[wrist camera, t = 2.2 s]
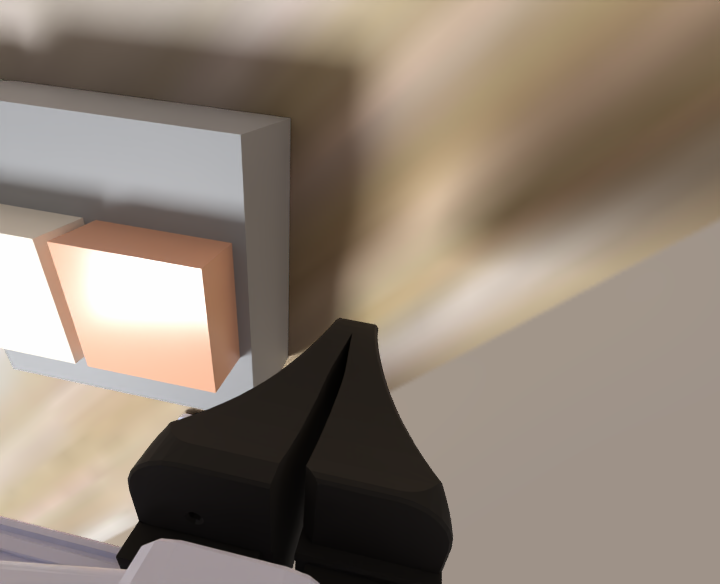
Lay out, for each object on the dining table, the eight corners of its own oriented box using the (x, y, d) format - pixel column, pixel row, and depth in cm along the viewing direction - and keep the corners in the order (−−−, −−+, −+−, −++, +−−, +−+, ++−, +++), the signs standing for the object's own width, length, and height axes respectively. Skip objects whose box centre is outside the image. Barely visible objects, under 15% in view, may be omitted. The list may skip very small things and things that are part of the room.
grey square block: (288, 357, 21) (254, 420, 17) (86, 317, 22) (13, 368, 19) (290, 118, 15) (240, 134, 11) (13, 80, 16) (-117, 84, 13)
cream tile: (113, 332, 16) (75, 363, 15) (6, 311, 17) (-44, 338, 15) (82, 217, 14) (32, 239, 12) (-44, 196, 14) (-109, 213, 13)
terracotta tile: (239, 357, 16) (215, 393, 14) (125, 334, 16) (87, 366, 15) (232, 243, 13) (201, 269, 12) (95, 219, 14) (46, 241, 12)
